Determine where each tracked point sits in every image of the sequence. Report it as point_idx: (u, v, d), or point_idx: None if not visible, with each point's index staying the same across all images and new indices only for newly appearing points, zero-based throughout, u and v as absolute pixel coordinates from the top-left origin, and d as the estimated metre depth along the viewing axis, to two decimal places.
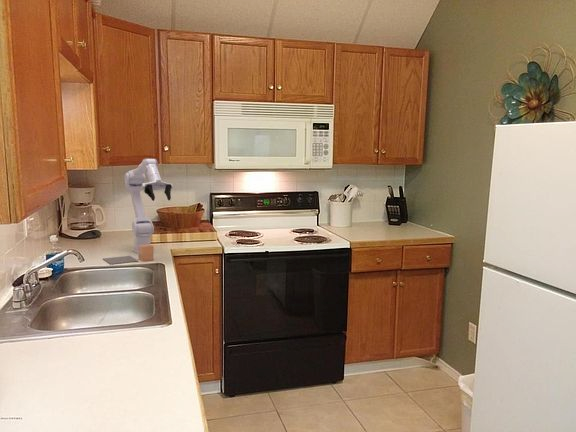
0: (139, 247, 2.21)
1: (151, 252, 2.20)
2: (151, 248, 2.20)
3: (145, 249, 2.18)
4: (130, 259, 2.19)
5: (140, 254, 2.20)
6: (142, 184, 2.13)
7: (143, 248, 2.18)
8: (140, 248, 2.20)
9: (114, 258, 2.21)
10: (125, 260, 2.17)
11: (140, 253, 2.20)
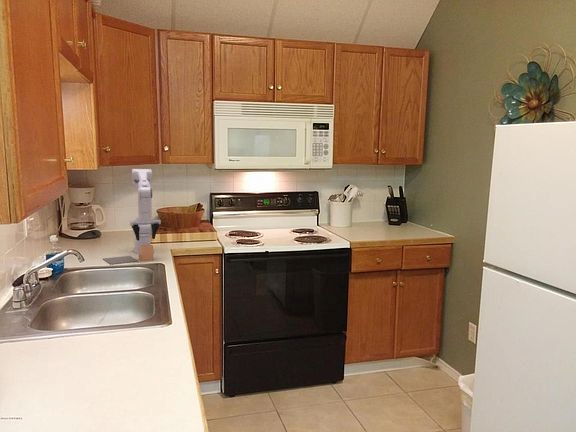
0: (139, 247, 2.21)
1: (151, 252, 2.20)
2: (151, 248, 2.20)
3: (145, 249, 2.18)
4: (130, 259, 2.19)
5: (140, 254, 2.20)
6: (130, 223, 2.15)
7: (143, 248, 2.18)
8: (140, 248, 2.20)
9: (114, 258, 2.21)
10: (125, 260, 2.17)
11: (140, 253, 2.20)
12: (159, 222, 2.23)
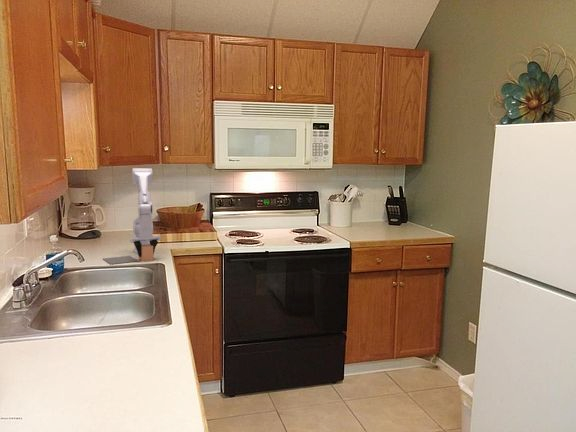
0: None
1: (151, 252, 2.20)
2: (151, 248, 2.20)
3: (145, 249, 2.18)
4: (130, 259, 2.19)
5: None
6: (131, 239, 2.16)
7: (143, 248, 2.18)
8: None
9: (114, 258, 2.21)
10: (125, 260, 2.17)
11: None
12: (159, 238, 2.24)
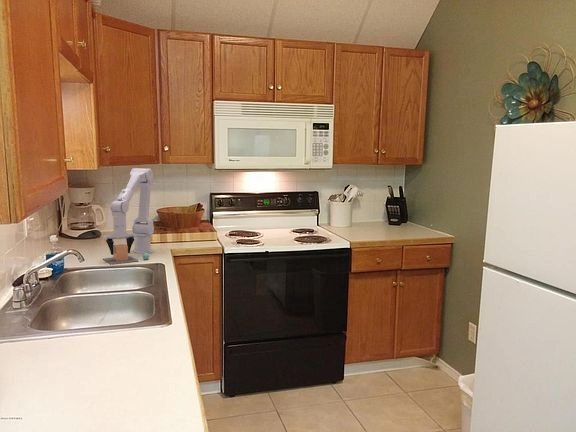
0: (113, 247, 2.17)
1: (126, 252, 2.17)
2: (125, 248, 2.17)
3: (119, 249, 2.15)
4: (130, 259, 2.19)
5: (114, 254, 2.16)
6: (104, 237, 2.12)
7: (117, 248, 2.14)
8: (114, 248, 2.16)
9: None
10: (125, 260, 2.17)
11: (114, 253, 2.16)
12: (134, 236, 2.20)
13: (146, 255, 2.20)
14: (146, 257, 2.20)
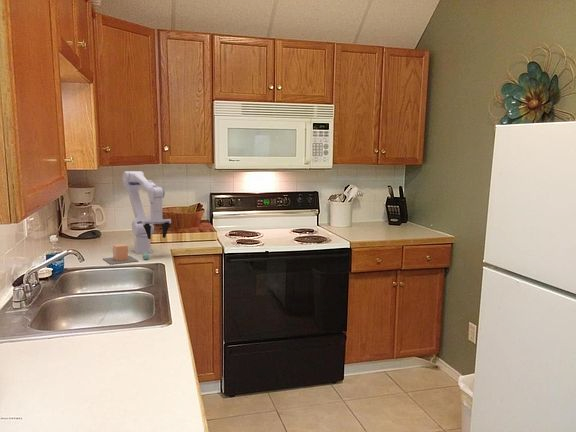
0: (113, 247, 2.17)
1: (126, 252, 2.17)
2: (125, 248, 2.17)
3: (119, 249, 2.15)
4: (130, 259, 2.19)
5: (114, 254, 2.16)
6: (142, 222, 2.22)
7: (117, 248, 2.14)
8: (114, 248, 2.16)
9: None
10: (125, 260, 2.17)
11: (114, 253, 2.16)
12: (169, 221, 2.30)
13: (146, 255, 2.20)
14: (146, 257, 2.20)
